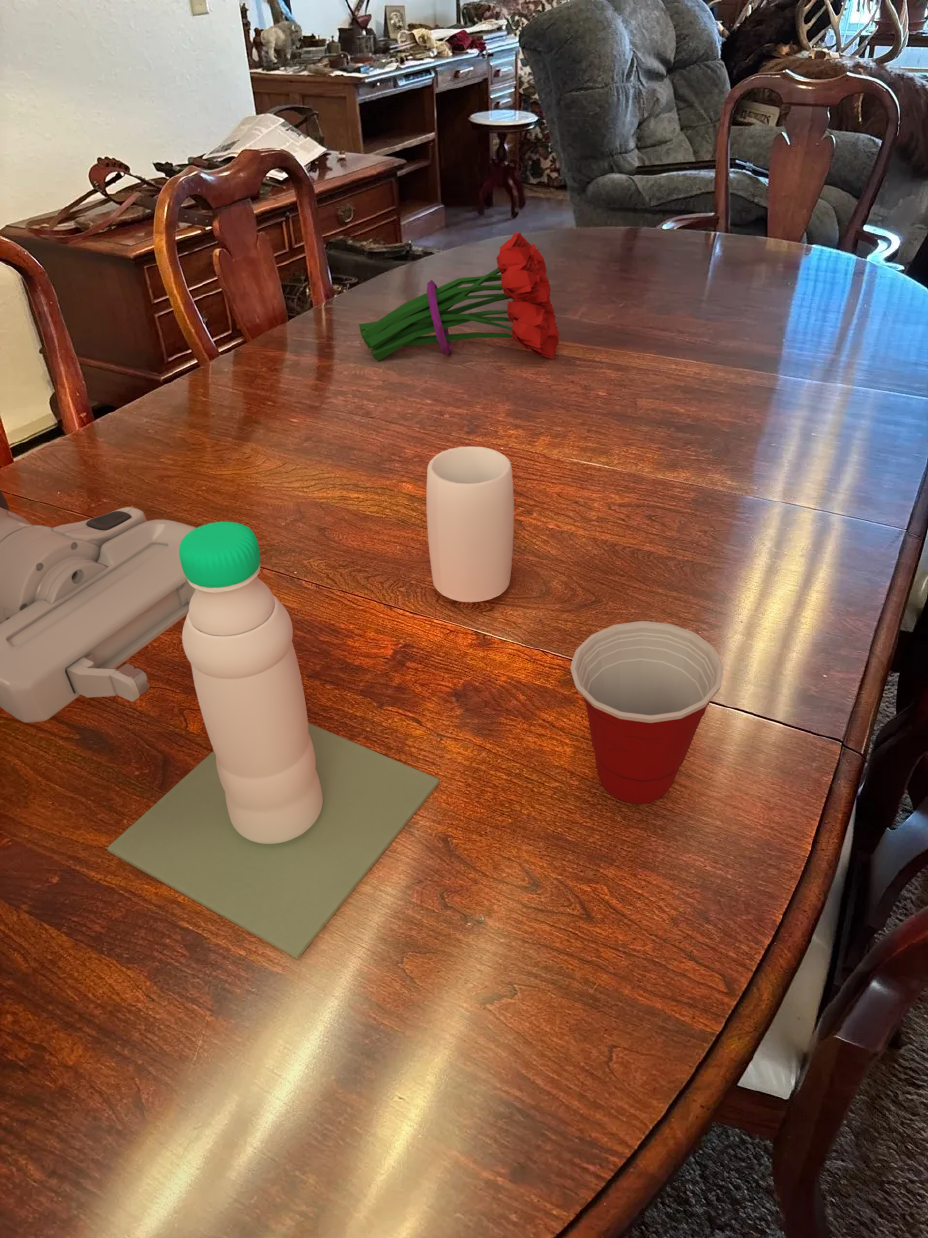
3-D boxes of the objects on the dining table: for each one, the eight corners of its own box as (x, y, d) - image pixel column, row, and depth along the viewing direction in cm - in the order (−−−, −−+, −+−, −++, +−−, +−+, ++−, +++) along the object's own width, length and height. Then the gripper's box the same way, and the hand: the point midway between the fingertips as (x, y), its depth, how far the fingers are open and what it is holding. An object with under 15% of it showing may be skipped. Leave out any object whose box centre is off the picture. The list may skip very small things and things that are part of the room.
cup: (530, 589, 94) (534, 464, 85) (470, 625, 89) (467, 497, 81) (473, 556, 99) (470, 435, 90) (413, 588, 94) (405, 464, 86)
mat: (297, 960, 61) (296, 956, 61) (107, 851, 69) (106, 848, 68) (440, 782, 73) (439, 779, 73) (265, 706, 81) (264, 703, 80)
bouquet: (379, 374, 154) (556, 331, 150) (374, 417, 141) (568, 371, 137) (342, 256, 142) (533, 206, 138) (333, 291, 129) (543, 236, 125)
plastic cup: (563, 725, 78) (571, 613, 71) (693, 732, 77) (714, 619, 70) (562, 826, 70) (570, 710, 62) (708, 835, 69) (734, 718, 61)
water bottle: (225, 852, 68) (144, 573, 52) (237, 780, 73) (167, 509, 58) (321, 845, 68) (269, 565, 53) (326, 774, 74) (280, 503, 58)
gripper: (-84, 634, 61) (58, 704, 55) (145, 496, 75) (277, 541, 69) (-49, 703, 65) (86, 775, 59) (162, 560, 79) (288, 607, 73)
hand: (190, 648), depth 64 cm, fingers open, 8 cm apart
